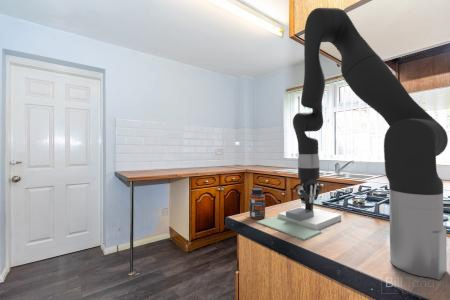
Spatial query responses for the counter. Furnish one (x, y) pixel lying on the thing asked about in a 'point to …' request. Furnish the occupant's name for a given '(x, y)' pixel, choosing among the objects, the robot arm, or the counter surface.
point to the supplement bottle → (257, 204)
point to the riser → (314, 219)
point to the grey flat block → (299, 214)
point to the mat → (289, 228)
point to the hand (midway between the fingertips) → (309, 212)
